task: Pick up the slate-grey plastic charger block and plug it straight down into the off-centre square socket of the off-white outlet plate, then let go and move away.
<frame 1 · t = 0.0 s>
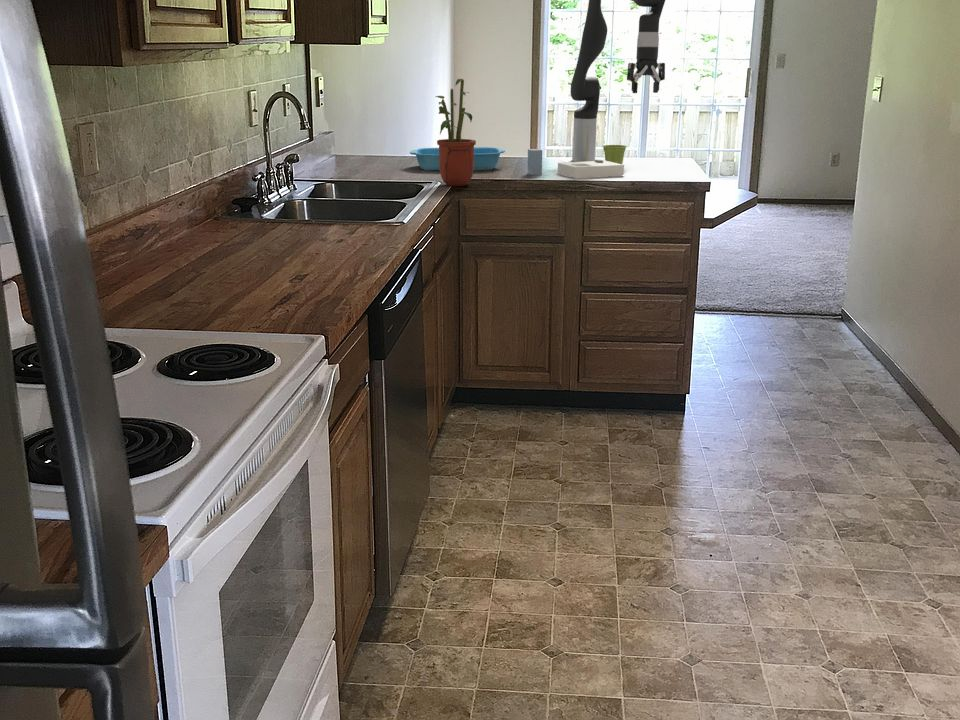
hand: (645, 92, 347), 29 cm above the worktop, fingers open, 8 cm apart
plant pot: (613, 169, 374), on the worktop
charger: (534, 174, 357), on the worktop
outlet plate: (590, 174, 357), on the worktop
potted plant: (449, 185, 330), on the worktop
casserole dish: (457, 168, 375), on the worktop
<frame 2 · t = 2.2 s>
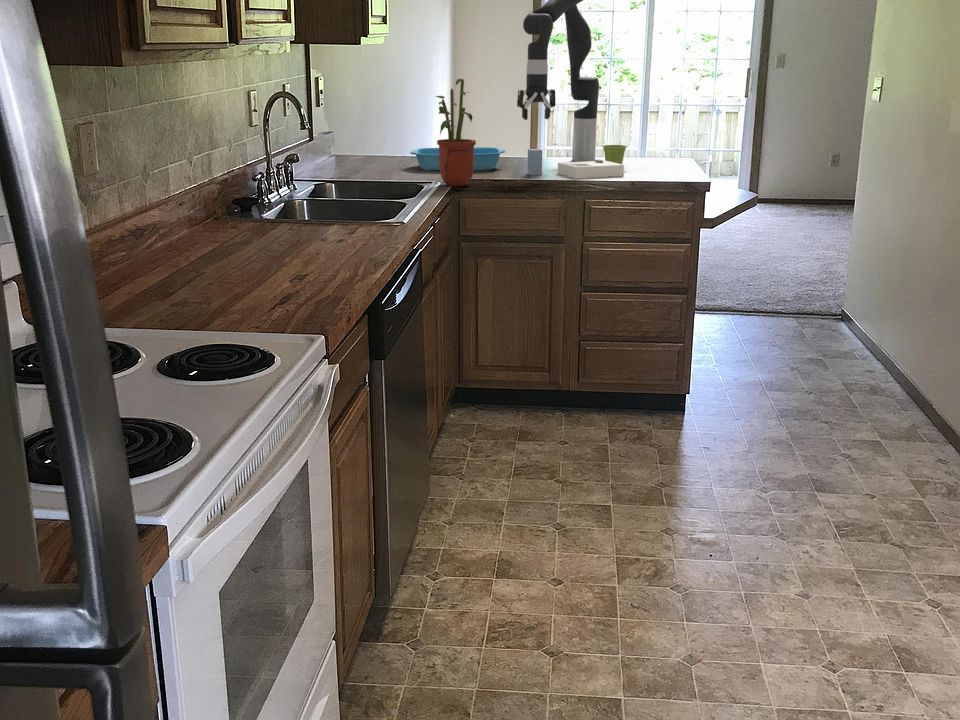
hand: (536, 119, 351), 20 cm above the worktop, fingers open, 8 cm apart
nothing on the worktop moved.
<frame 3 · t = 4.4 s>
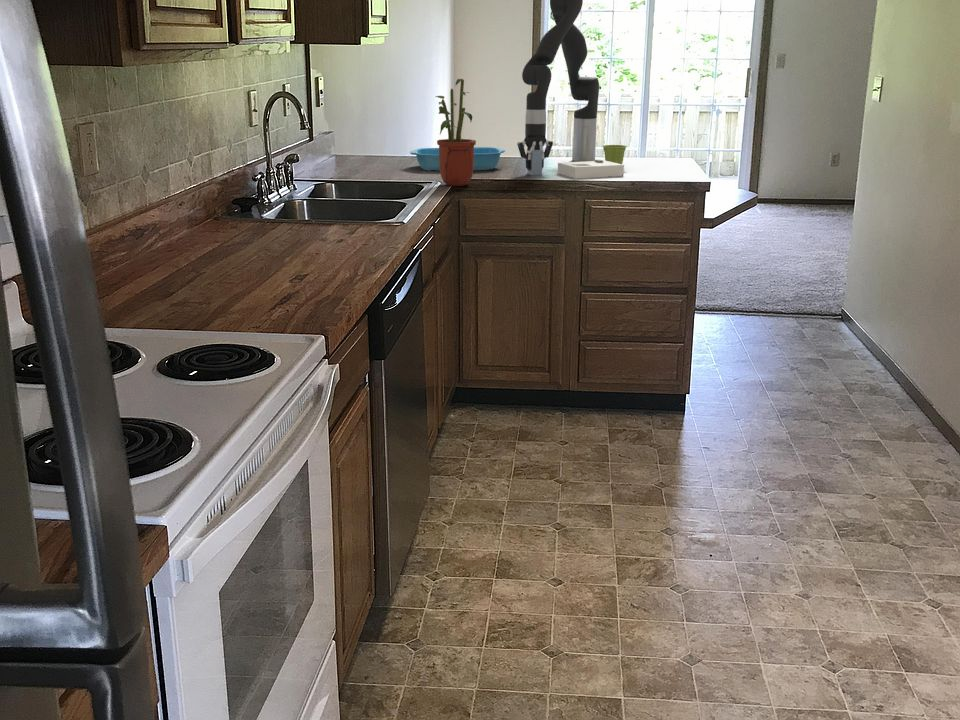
hand: (534, 169, 357), 2 cm above the worktop, fingers closed on charger, 4 cm apart
charger: (534, 174, 357), on the worktop, touching gripper
everything else where it was.
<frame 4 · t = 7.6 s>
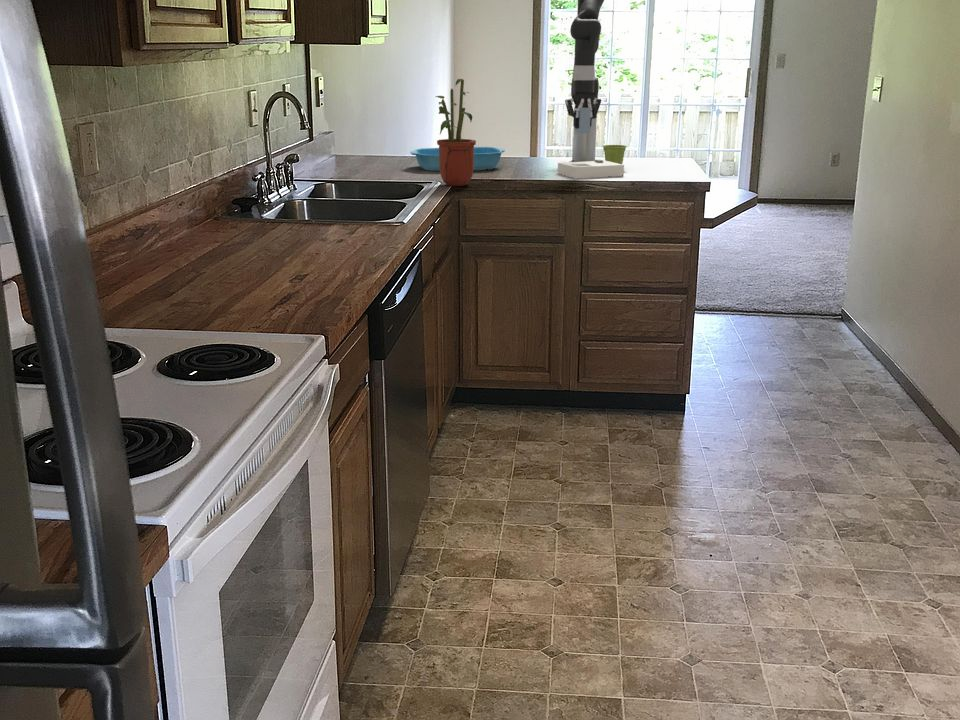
hand: (582, 128, 348), 17 cm above the worktop, fingers closed on charger, 4 cm apart
charger: (582, 133, 348), point 15 cm above the worktop, touching gripper
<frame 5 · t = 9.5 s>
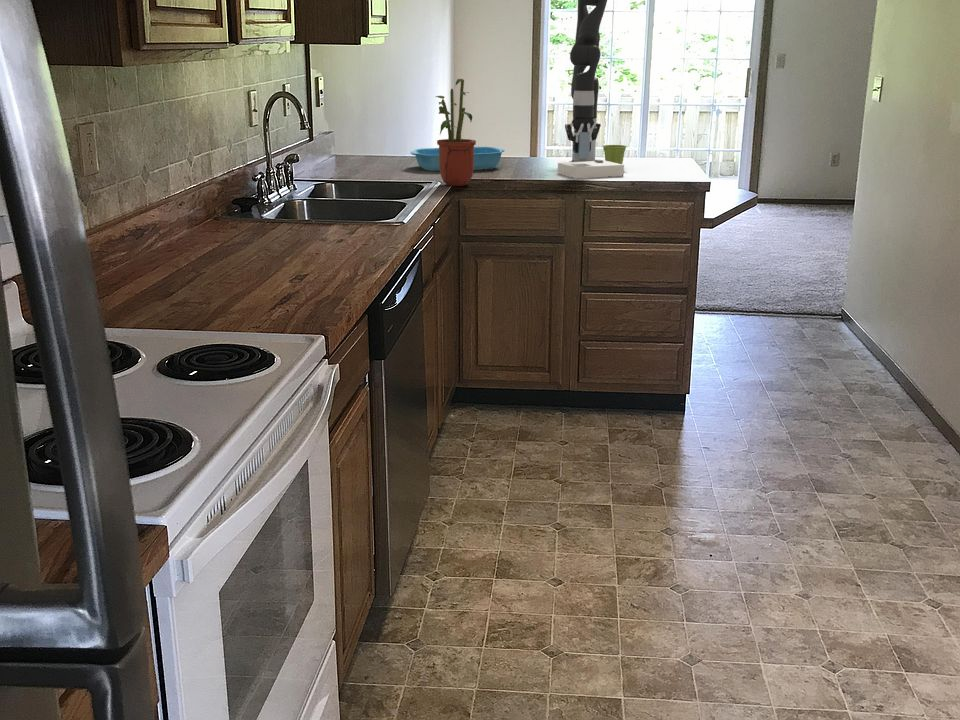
hand: (581, 152, 350), 9 cm above the worktop, fingers closed on charger, 4 cm apart
charger: (581, 157, 351), point 7 cm above the worktop, touching gripper
when the fingers open (5 cm above the worktop, at t = 10.9 s): charger drops 3 cm, resting in outlet plate.
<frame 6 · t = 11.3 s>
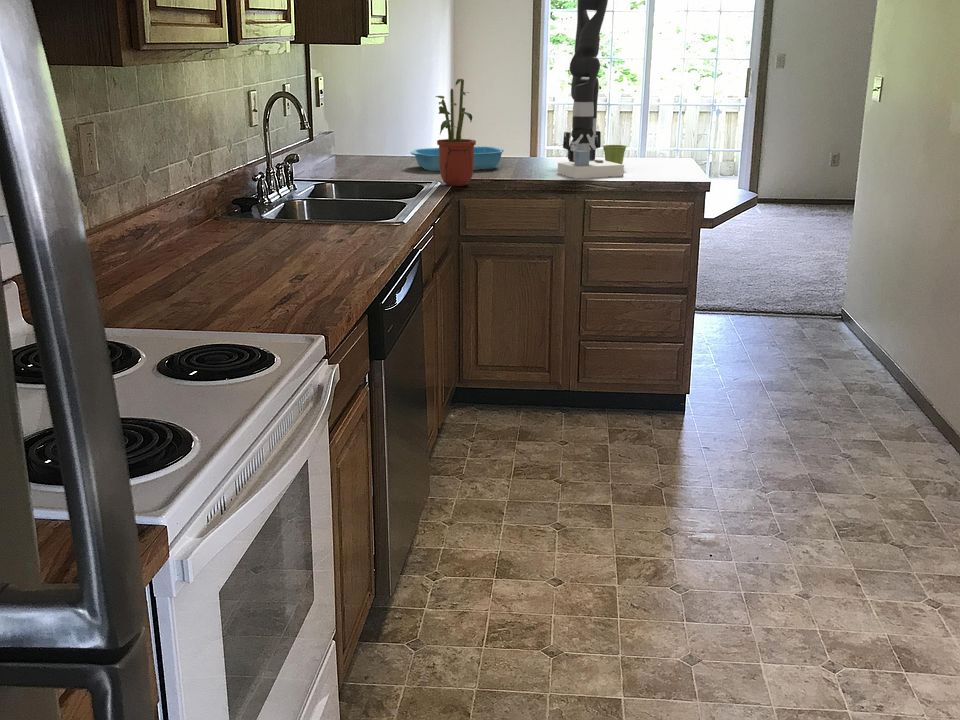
hand: (581, 160, 351), 6 cm above the worktop, fingers open, 8 cm apart
charger: (581, 176, 353), resting in outlet plate
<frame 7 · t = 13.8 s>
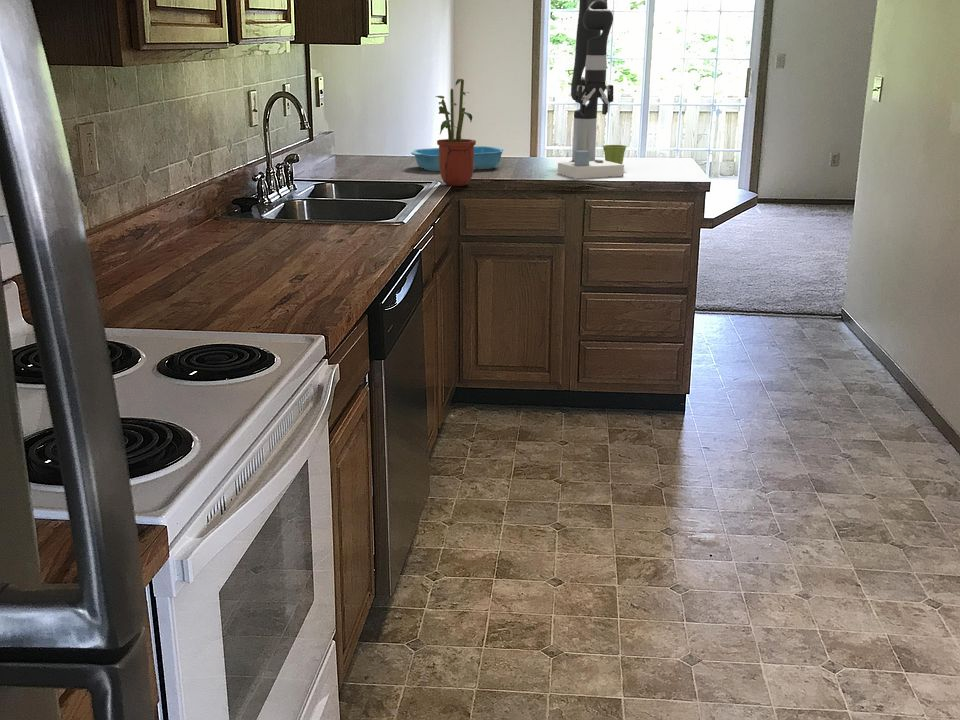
hand: (593, 114, 352), 21 cm above the worktop, fingers open, 8 cm apart
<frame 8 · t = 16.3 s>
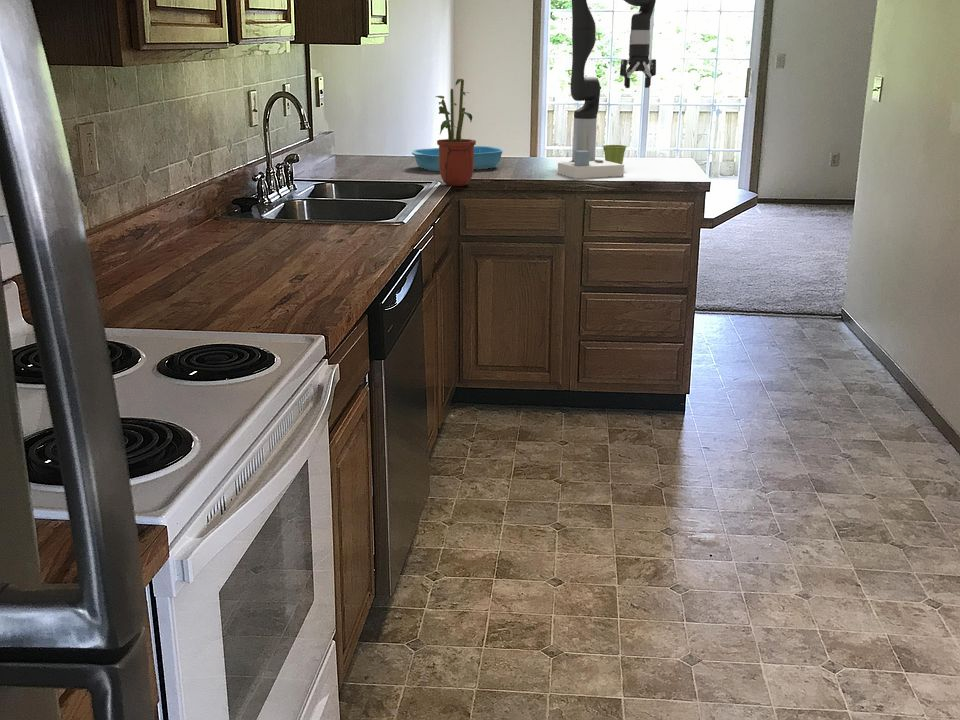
hand: (637, 87, 367), 30 cm above the worktop, fingers open, 8 cm apart
at the end: charger 0.2 cm from the target spot, resting in outlet plate; charger tilted 0°; the gripper is holding nothing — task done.
